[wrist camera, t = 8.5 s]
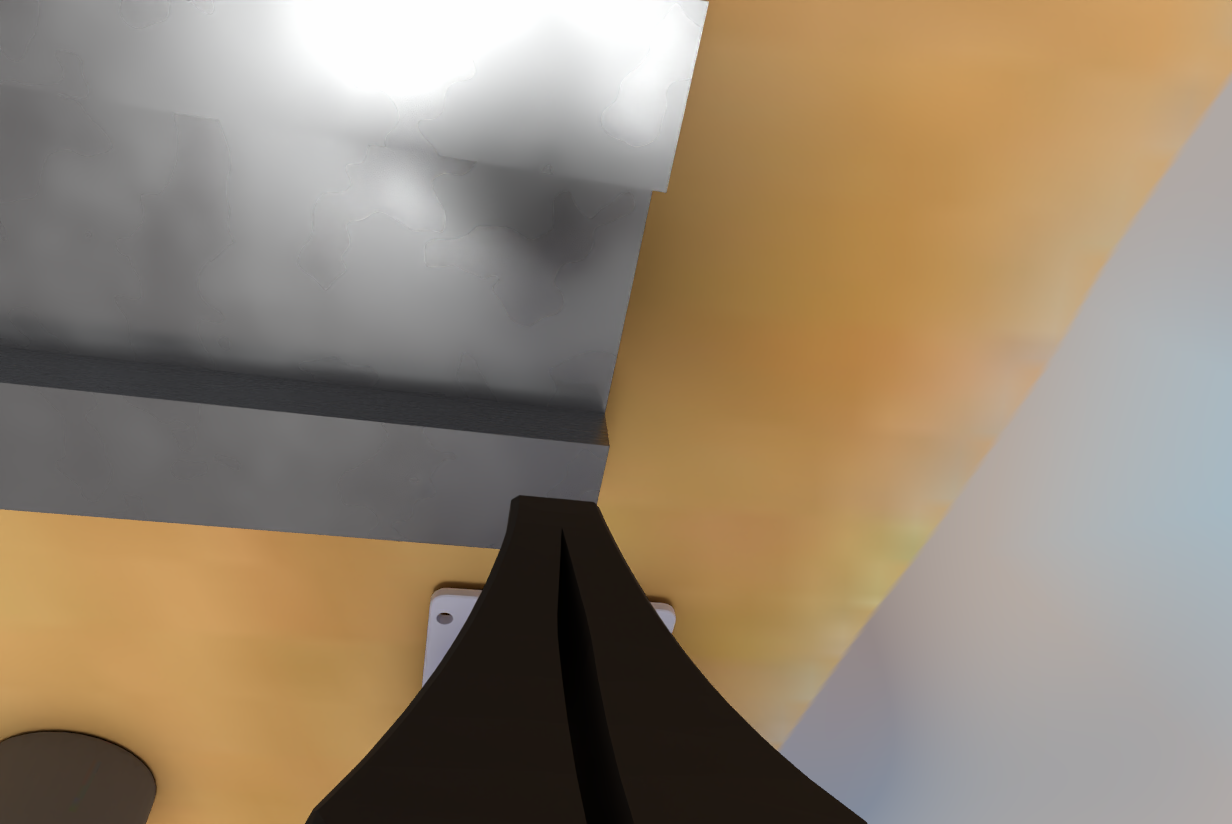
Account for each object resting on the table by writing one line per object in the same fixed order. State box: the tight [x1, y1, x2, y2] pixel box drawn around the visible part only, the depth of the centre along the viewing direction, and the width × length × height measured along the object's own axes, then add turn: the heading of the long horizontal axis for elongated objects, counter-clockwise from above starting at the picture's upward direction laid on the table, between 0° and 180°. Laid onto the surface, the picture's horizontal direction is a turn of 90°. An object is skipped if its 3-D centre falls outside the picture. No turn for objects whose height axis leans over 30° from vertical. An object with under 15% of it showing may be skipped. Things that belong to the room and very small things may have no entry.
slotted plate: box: [0, 0, 709, 549], centre depth 18 cm, size 14×18×3 cm
